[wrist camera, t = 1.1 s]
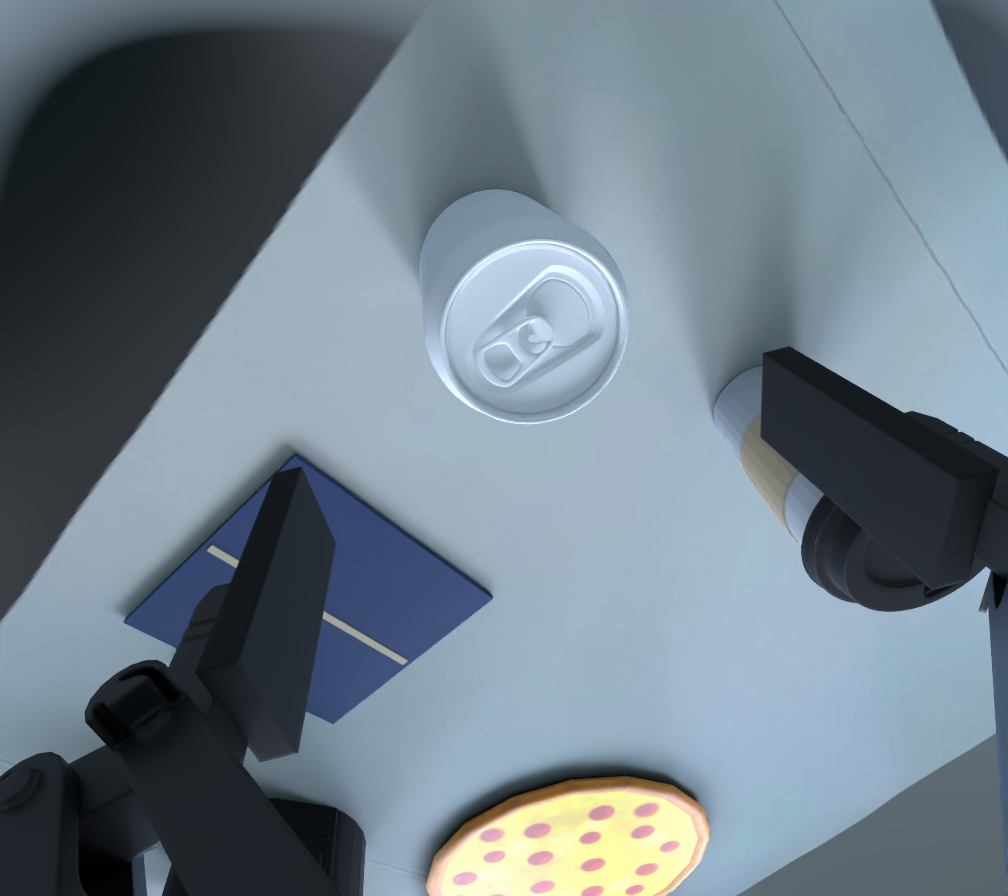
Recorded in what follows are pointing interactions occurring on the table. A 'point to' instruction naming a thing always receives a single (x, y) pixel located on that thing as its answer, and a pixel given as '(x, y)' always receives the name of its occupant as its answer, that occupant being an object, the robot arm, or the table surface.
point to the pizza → (576, 842)
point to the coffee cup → (817, 515)
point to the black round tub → (316, 845)
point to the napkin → (336, 595)
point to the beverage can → (520, 308)
